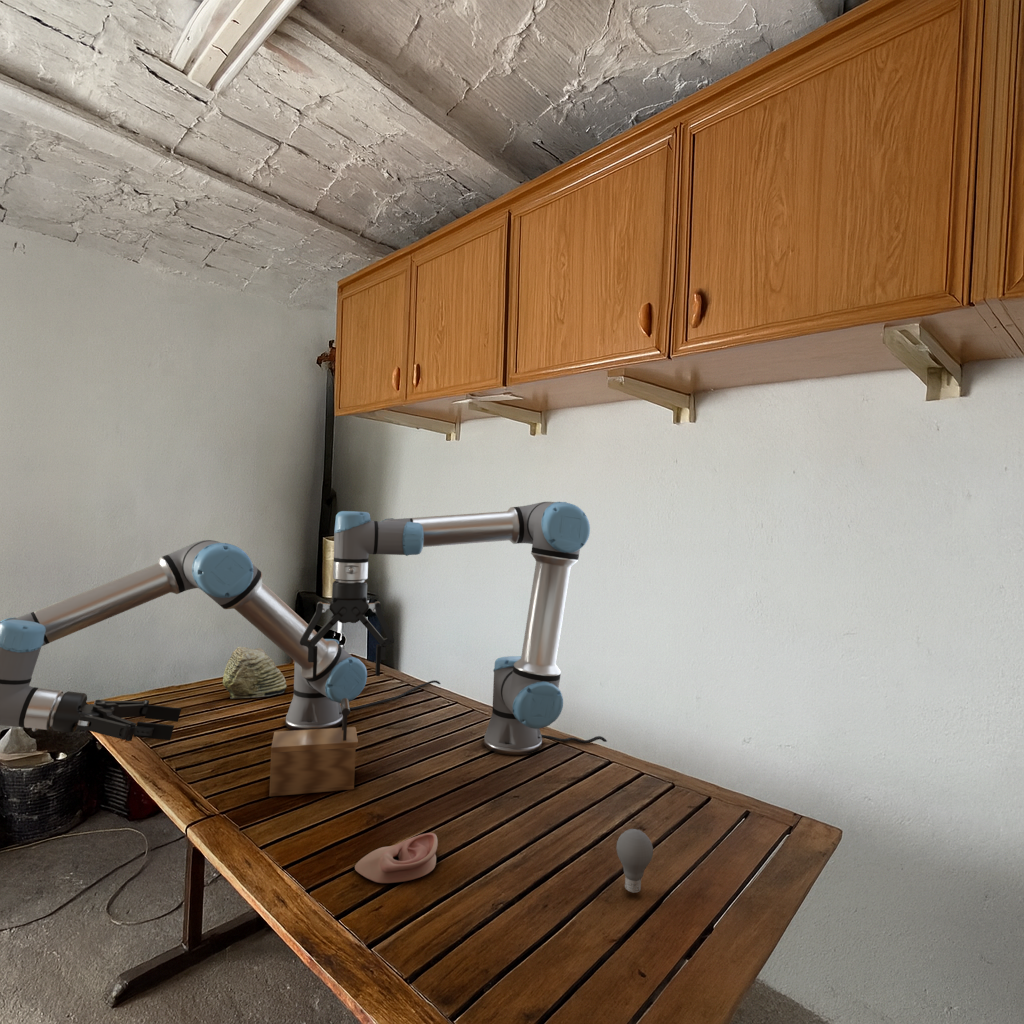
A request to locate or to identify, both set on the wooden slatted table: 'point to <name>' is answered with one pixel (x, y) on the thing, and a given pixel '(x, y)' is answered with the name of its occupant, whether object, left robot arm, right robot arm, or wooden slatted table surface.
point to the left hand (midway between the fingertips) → (176, 723)
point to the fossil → (252, 674)
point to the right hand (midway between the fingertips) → (346, 675)
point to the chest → (312, 771)
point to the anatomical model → (400, 860)
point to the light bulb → (634, 857)
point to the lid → (317, 737)
